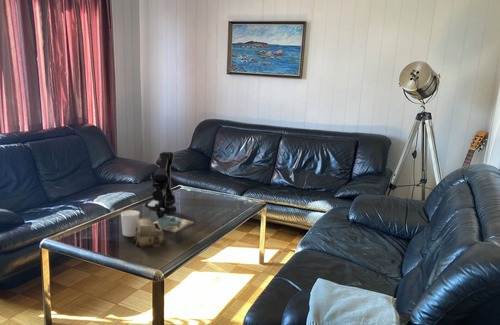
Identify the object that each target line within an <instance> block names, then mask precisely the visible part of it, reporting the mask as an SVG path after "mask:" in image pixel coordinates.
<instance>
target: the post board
mask: <svg viewBox="0 0 500 325" xmlns="http://www.w3.org/2000/svg"><path fill="white" fill-rule="evenodd" d="M168 216H169V217H170V216H171V215H168ZM174 217H175V218H179V219H180V220H181V223H180V221H178V223H177V225H169V226H167V227H165V228H163V229H162V231H166V232H169V233H174V234H175V233H176V232H179V231H181V230H183V229H186V228H187V227H190V226H192V225H194V223H195V222H194V221H193V220H189V219H185V218H180V217H177V216H174ZM152 222H153V221H152ZM153 223H158V220H156V221H154V222H153Z"/></svg>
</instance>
